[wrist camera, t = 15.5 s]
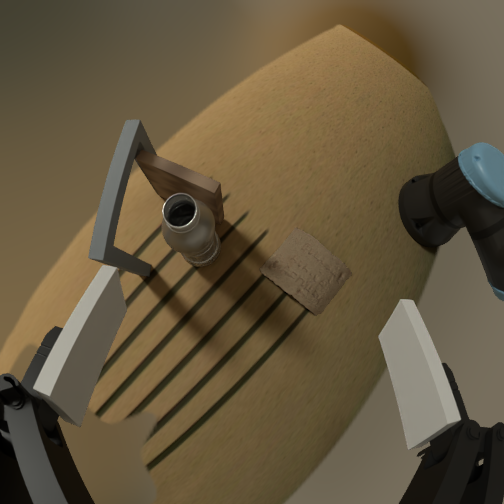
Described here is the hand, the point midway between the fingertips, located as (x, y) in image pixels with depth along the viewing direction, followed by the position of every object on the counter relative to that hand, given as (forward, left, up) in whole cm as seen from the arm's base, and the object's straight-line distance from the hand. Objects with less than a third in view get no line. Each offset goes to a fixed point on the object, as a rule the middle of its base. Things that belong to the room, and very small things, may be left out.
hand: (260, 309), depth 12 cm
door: (+11, -16, -33) cm, 38 cm away
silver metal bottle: (+8, -8, -34) cm, 36 cm away
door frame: (+17, -12, -34) cm, 39 cm away
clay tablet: (-10, -6, -34) cm, 37 cm away
